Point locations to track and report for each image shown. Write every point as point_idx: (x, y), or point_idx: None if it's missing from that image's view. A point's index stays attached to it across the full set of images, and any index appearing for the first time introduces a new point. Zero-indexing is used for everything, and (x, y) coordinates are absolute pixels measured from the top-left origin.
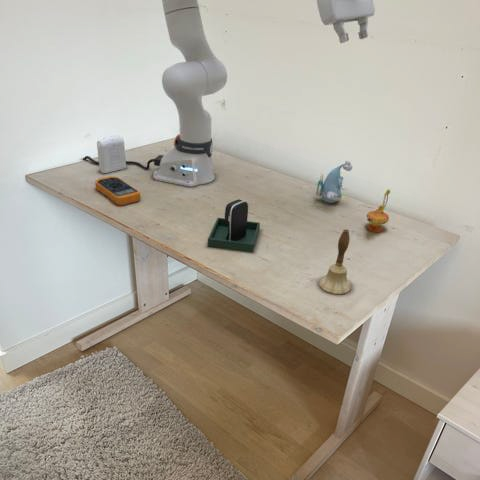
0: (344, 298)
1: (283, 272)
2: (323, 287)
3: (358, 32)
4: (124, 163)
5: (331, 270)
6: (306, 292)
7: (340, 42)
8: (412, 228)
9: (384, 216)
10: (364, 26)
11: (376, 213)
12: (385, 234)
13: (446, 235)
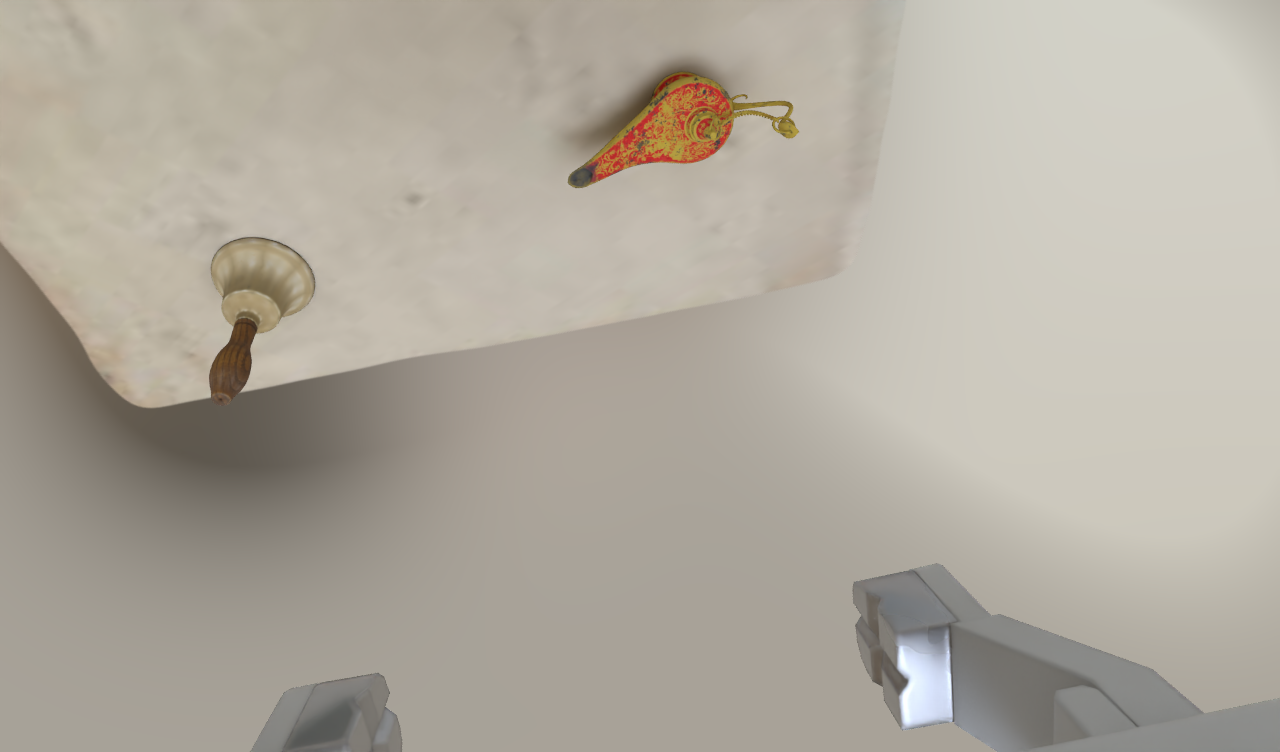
0: None
1: (122, 142)
2: (213, 278)
3: (894, 639)
4: None
5: (222, 309)
6: (151, 261)
7: (290, 692)
8: (782, 178)
9: (696, 150)
10: (1016, 736)
11: (686, 124)
12: None
13: (814, 260)
